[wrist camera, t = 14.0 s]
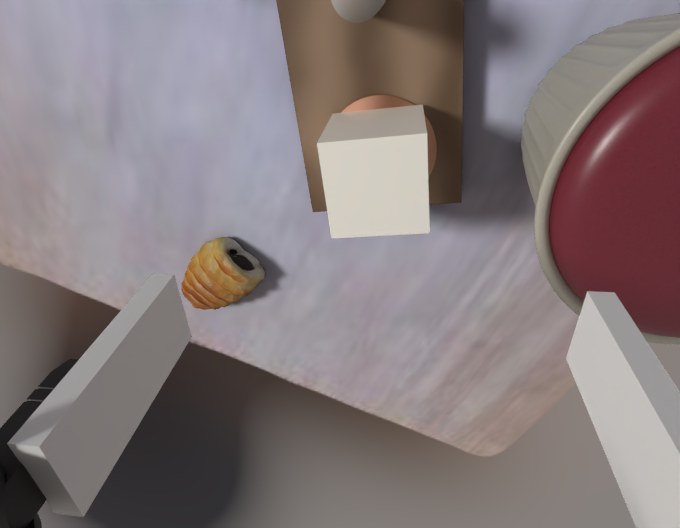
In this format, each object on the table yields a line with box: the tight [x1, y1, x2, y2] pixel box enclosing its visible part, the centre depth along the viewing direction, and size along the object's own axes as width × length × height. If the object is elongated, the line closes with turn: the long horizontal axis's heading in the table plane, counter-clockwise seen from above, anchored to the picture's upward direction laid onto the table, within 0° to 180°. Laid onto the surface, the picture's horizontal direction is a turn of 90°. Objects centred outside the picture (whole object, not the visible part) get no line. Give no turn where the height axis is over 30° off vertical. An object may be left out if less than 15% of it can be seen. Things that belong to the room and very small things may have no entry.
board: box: [276, 0, 464, 212], centre depth 32 cm, size 13×21×10 cm, turn 7°
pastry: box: [182, 237, 265, 309], centre depth 47 cm, size 9×7×4 cm
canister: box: [521, 13, 680, 344], centre depth 27 cm, size 18×18×21 cm
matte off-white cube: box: [317, 104, 430, 238], centre depth 33 cm, size 7×7×8 cm
